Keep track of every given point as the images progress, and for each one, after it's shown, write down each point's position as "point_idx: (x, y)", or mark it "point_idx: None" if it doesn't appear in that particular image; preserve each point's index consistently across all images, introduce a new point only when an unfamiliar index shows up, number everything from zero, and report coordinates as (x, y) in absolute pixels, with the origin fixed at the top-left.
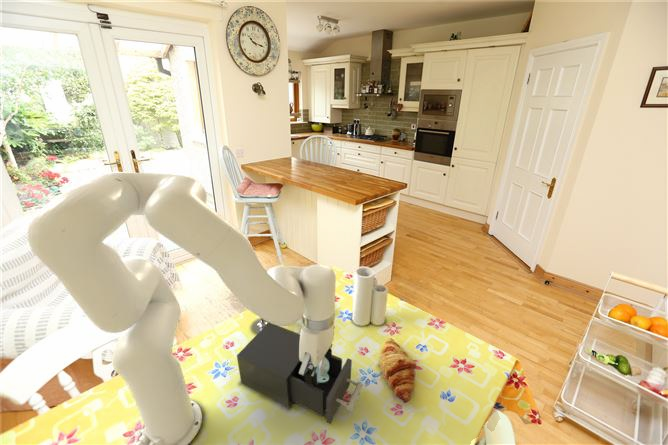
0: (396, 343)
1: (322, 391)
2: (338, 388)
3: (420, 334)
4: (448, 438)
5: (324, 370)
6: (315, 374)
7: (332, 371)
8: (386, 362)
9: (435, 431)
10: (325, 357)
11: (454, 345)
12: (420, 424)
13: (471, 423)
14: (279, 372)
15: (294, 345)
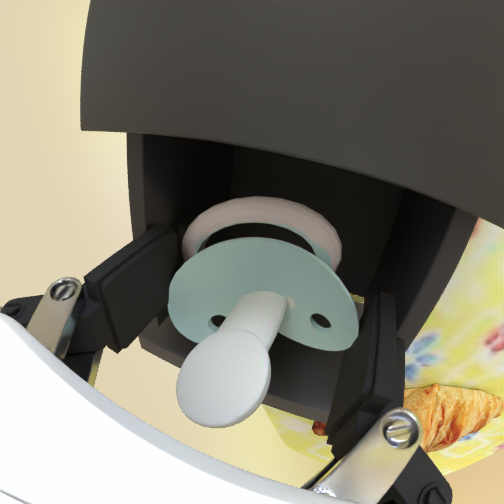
0: (473, 432)
1: (152, 321)
2: None
3: (497, 431)
4: (279, 433)
5: (285, 316)
6: (108, 345)
7: (377, 288)
8: None
9: (285, 426)
10: (352, 346)
11: (453, 461)
12: (291, 416)
13: (310, 453)
14: (94, 56)
15: (424, 16)
